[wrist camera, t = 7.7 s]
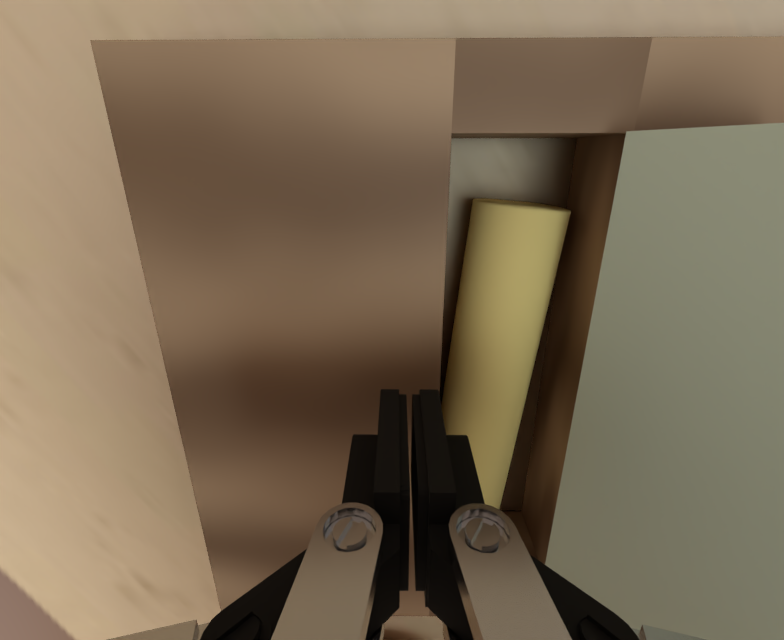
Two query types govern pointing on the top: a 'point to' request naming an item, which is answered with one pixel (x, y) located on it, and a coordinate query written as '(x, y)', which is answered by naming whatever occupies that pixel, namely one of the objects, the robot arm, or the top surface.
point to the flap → (684, 392)
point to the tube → (499, 328)
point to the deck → (364, 239)
